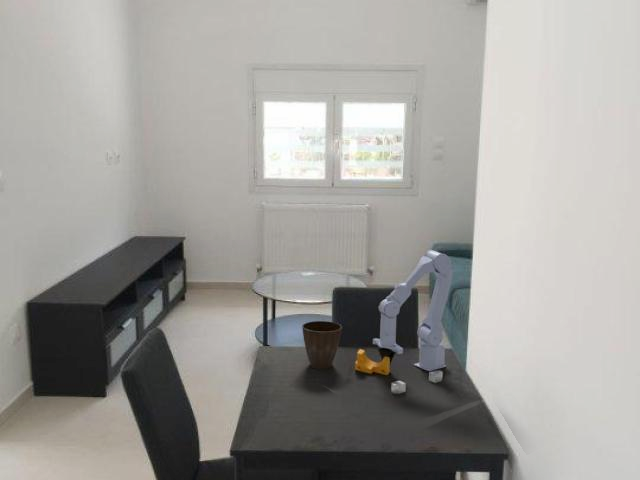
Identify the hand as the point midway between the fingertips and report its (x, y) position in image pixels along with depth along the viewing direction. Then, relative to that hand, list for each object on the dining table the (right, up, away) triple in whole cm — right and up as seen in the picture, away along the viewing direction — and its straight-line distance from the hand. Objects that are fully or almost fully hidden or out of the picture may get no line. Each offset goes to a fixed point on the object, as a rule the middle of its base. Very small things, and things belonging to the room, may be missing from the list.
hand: (386, 367), depth 221 cm
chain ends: (+9, -4, -13) cm, 16 cm away
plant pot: (-24, -1, +5) cm, 25 cm away
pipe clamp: (-5, -1, 0) cm, 6 cm away
